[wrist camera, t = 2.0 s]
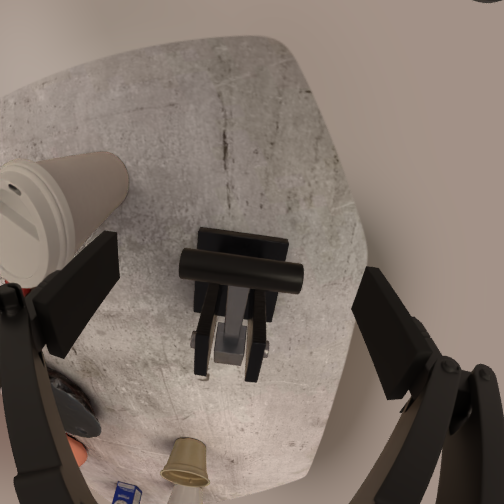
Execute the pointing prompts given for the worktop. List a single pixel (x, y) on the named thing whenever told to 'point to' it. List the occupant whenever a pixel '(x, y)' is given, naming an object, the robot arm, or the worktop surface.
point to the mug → (185, 495)
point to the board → (73, 407)
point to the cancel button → (25, 290)
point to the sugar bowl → (77, 450)
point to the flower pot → (187, 464)
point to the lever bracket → (215, 298)
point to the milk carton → (127, 494)
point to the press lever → (238, 290)
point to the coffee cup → (54, 210)
